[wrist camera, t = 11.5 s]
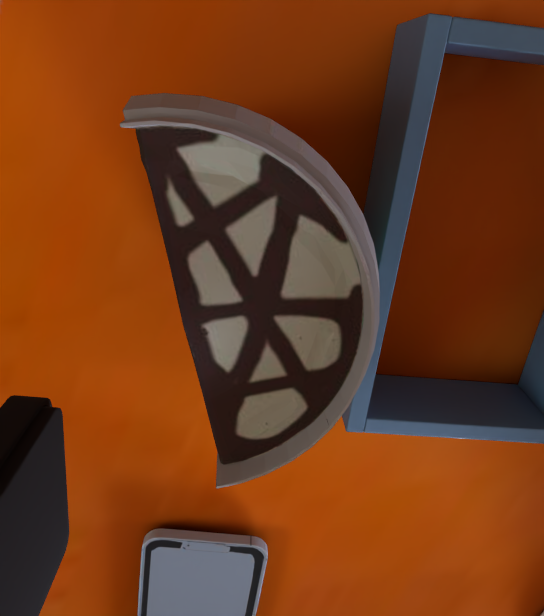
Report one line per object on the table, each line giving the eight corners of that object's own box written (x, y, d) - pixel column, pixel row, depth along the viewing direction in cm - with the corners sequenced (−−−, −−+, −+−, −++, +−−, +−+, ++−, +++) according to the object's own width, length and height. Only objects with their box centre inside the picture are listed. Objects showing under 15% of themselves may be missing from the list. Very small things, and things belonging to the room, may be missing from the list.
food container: (351, 333, 26) (407, 472, 17) (229, 352, 26) (219, 501, 17) (322, 62, 21) (378, 52, 12) (171, 89, 21) (112, 99, 12)
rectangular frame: (649, 56, 21) (732, 51, 18) (527, 397, 28) (569, 445, 24) (396, 24, 20) (428, 12, 17) (332, 384, 27) (345, 431, 23)
